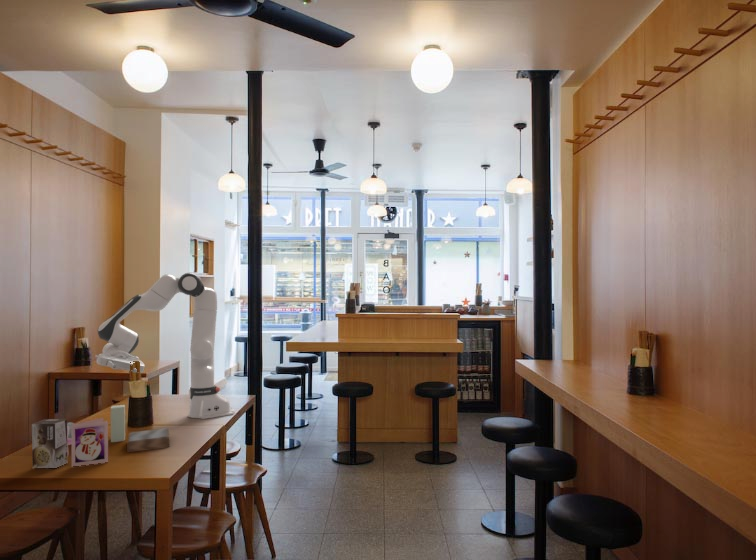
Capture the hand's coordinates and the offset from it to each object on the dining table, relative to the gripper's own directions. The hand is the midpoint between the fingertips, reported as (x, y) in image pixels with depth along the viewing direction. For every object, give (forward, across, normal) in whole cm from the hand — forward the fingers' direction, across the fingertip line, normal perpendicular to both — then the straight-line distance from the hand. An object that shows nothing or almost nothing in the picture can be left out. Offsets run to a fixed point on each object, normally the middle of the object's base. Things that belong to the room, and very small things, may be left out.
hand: (124, 368), depth 226 cm
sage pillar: (+18, +3, +25) cm, 31 cm away
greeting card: (+42, -12, +25) cm, 50 cm away
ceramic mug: (+8, -12, +33) cm, 36 cm away
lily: (+24, -19, +31) cm, 43 cm away
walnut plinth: (+33, +9, +19) cm, 39 cm away
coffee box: (+37, -23, +30) cm, 53 cm away
